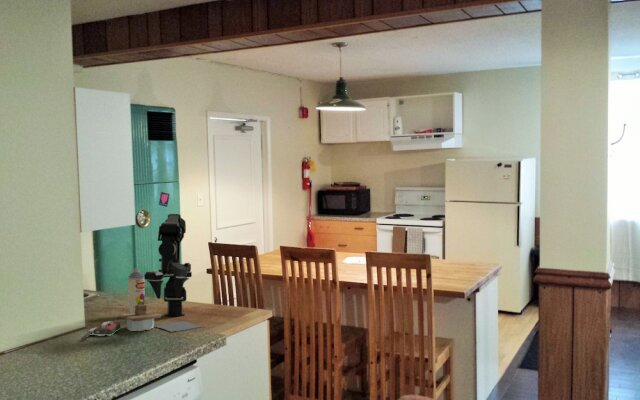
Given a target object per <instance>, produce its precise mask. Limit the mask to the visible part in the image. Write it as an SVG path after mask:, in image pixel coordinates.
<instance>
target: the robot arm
mask: <svg viewBox="0 0 640 400" xmlns="http://www.w3.org/2000/svg"><path fill="white" fill-rule="evenodd" d="M186 232H187V224H186V220H184V218H182V216H181V214H179V213H170V214H167V218H166V219H165V221H164V222H162V223H161V225H159V227H158V236H157V241H158V242H161V243H160V244H159V246H158V249H157V250H158V253H159V255H160V256H161V257H160V258H159V259H158V262H160V269H158V271H156V270H155V271H146V272H145V273H144V276H145V277H144V279H145V281H146V282H148V283H149V285H150V286H151V289H152V290H153V292H154V294H155V296H156V298H157V299H158V300H160V299H161V296H162V295H161V293H162V284H163V283H164V280H162V279H164V278H168V280H167V281H166V283H165V287H164V288H163V301H164V303H165V302H167V304H166V305H167V312H166V313H164V314H163V315H164V316H166V317H167V316H168V317H171V318H176V317H181V316H185V313H183V302H186V301H187V290H186V287H184V284H185V282H186V281H188V280H190V278H192V273H193V272H192V271H191V270H192V264H191V263H190V262H184V263H181V242H182V241H183V239H184V238H185V234H186Z"/></svg>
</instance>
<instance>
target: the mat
mask: <svg viewBox="0 0 640 400" xmlns="http://www.w3.org/2000/svg"><path fill="white" fill-rule="evenodd" d="M156 327H157V328H156ZM154 328H156V329H159V328H162V329H167V330H174V331H180V332H185V331H191V330H195V329H200V328H201V329H202V328H203V327H202V326H201V325H198V324H194V323H190V322H189V321H184V320H182V321H177V322H170V323H163V324H157V325H154ZM162 329H161V330H162Z"/></svg>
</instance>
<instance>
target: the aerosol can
mask: <svg viewBox="0 0 640 400" xmlns="http://www.w3.org/2000/svg"><path fill="white" fill-rule="evenodd" d="M144 277H145V274H143V273H142V272H141V271H140V270H139V268H134V271H132V273H130V275H128V277H127V313H132V312H135V305H141V304H143V305H145V300H146V299H145V296H146V295H145V287H146V286H145V285H146V282H145V281H146V280H145V279H144Z"/></svg>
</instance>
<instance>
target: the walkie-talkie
mask: <svg viewBox="0 0 640 400" xmlns="http://www.w3.org/2000/svg"><path fill="white" fill-rule="evenodd" d="M119 328H120V329H121V323H120V322H118V321H111V320H109V321H105V322H102V323H101V324H100V325H99V326H96V327H93V328H90V329H89V330H87V333H86V334H85V335H83V336H82V337H81V340H82V339H84V340H86V339H87V338H88V337H87V336H89V335H90V334H92V333H94V334H112V333H114V332H115V331H116V330H118V329H119ZM86 337H87V338H86ZM89 337H90V336H89ZM85 338H86V339H85Z"/></svg>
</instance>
